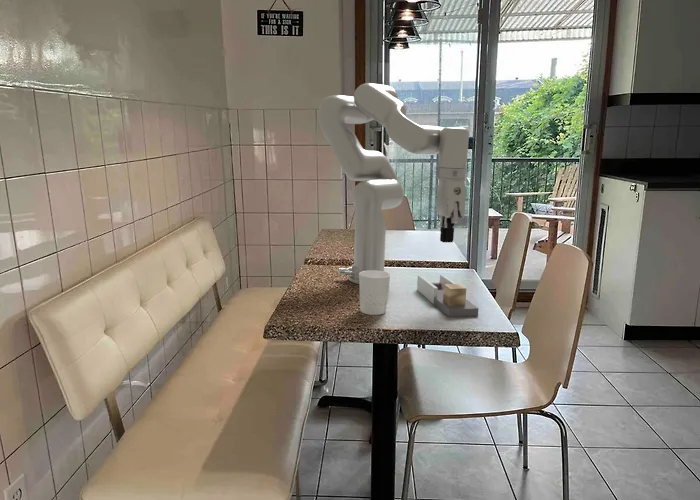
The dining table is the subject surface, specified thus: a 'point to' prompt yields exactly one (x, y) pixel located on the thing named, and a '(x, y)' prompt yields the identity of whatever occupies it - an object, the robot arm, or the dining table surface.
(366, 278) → the white cup
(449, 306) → the channel
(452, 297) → the maple block
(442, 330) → the dining table surface
